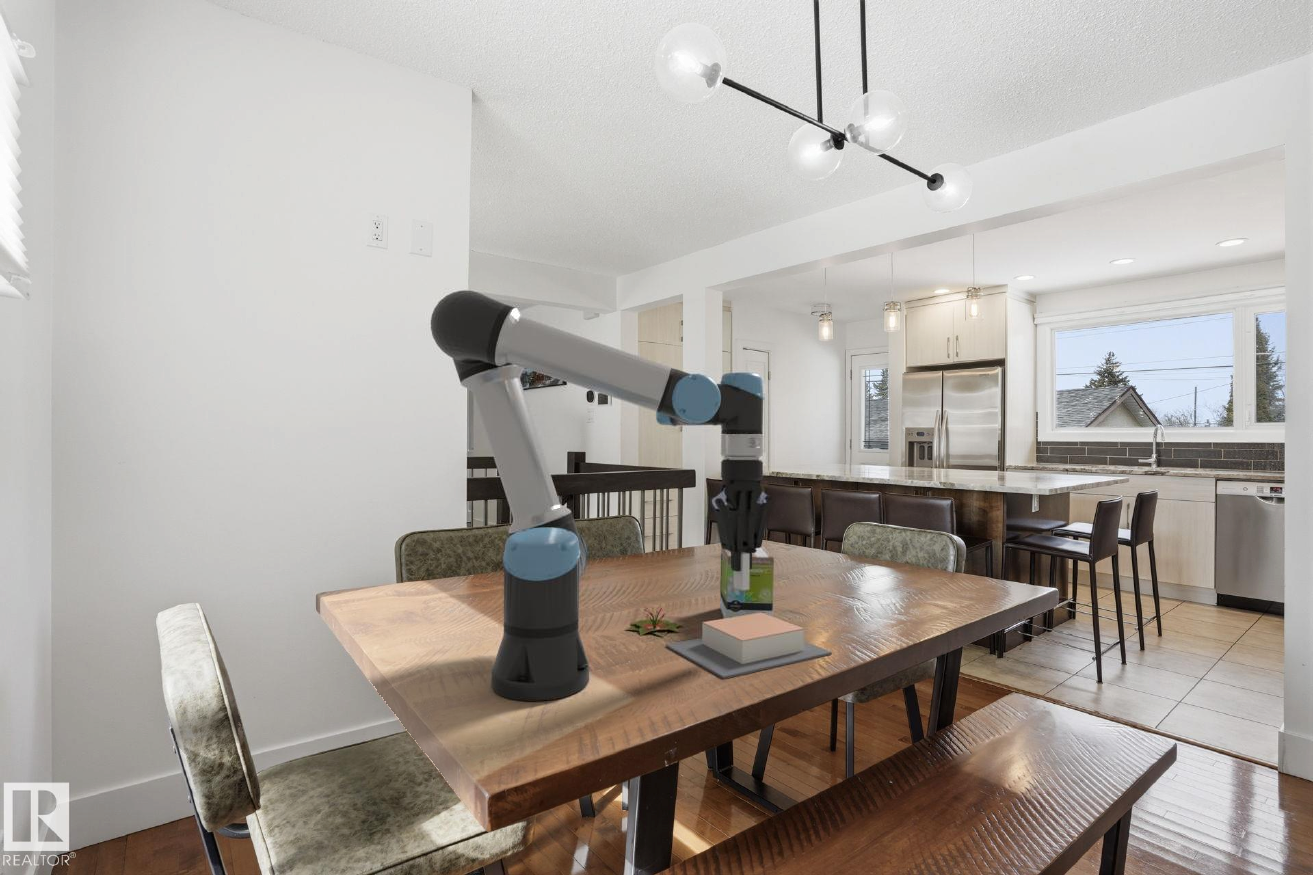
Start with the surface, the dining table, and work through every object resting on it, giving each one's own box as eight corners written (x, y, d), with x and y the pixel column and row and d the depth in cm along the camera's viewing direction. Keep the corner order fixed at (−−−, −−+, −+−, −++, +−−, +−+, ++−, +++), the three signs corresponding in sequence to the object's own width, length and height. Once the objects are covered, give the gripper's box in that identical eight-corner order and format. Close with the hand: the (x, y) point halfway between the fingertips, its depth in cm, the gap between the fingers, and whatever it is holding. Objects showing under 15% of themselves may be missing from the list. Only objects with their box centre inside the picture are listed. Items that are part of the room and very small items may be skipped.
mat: (723, 678, 100) (723, 676, 100) (665, 646, 115) (665, 644, 115) (831, 654, 112) (831, 651, 112) (766, 627, 127) (766, 625, 127)
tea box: (774, 628, 127) (775, 556, 127) (725, 627, 127) (726, 555, 128) (763, 608, 142) (763, 543, 142) (719, 607, 142) (719, 543, 143)
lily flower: (694, 627, 129) (694, 605, 129) (666, 643, 118) (666, 619, 118) (644, 618, 135) (644, 597, 135) (613, 633, 124) (613, 610, 124)
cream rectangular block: (742, 640, 105) (803, 628, 112) (702, 622, 116) (761, 612, 123) (742, 663, 105) (803, 650, 112) (702, 643, 116) (760, 632, 123)
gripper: (725, 459, 106) (724, 597, 106) (783, 458, 113) (782, 588, 113) (700, 458, 113) (700, 588, 113) (756, 457, 119) (756, 580, 119)
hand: (741, 588), depth 113 cm, fingers closed
